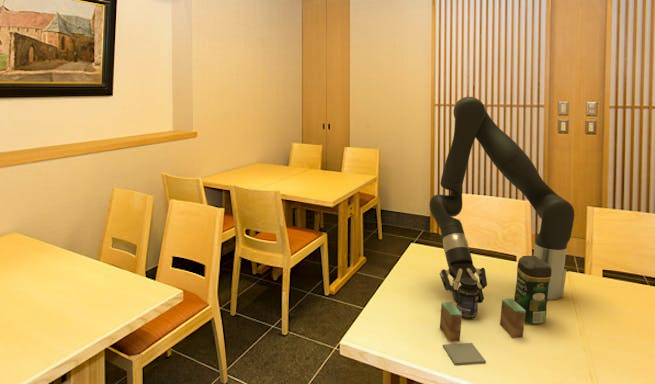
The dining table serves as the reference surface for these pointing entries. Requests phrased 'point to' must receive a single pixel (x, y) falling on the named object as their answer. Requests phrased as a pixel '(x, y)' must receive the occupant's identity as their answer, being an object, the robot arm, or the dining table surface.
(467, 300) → the pill bottle
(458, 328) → the walnut channel
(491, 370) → the dining table surface
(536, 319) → the coffee jar
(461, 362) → the slate pad
